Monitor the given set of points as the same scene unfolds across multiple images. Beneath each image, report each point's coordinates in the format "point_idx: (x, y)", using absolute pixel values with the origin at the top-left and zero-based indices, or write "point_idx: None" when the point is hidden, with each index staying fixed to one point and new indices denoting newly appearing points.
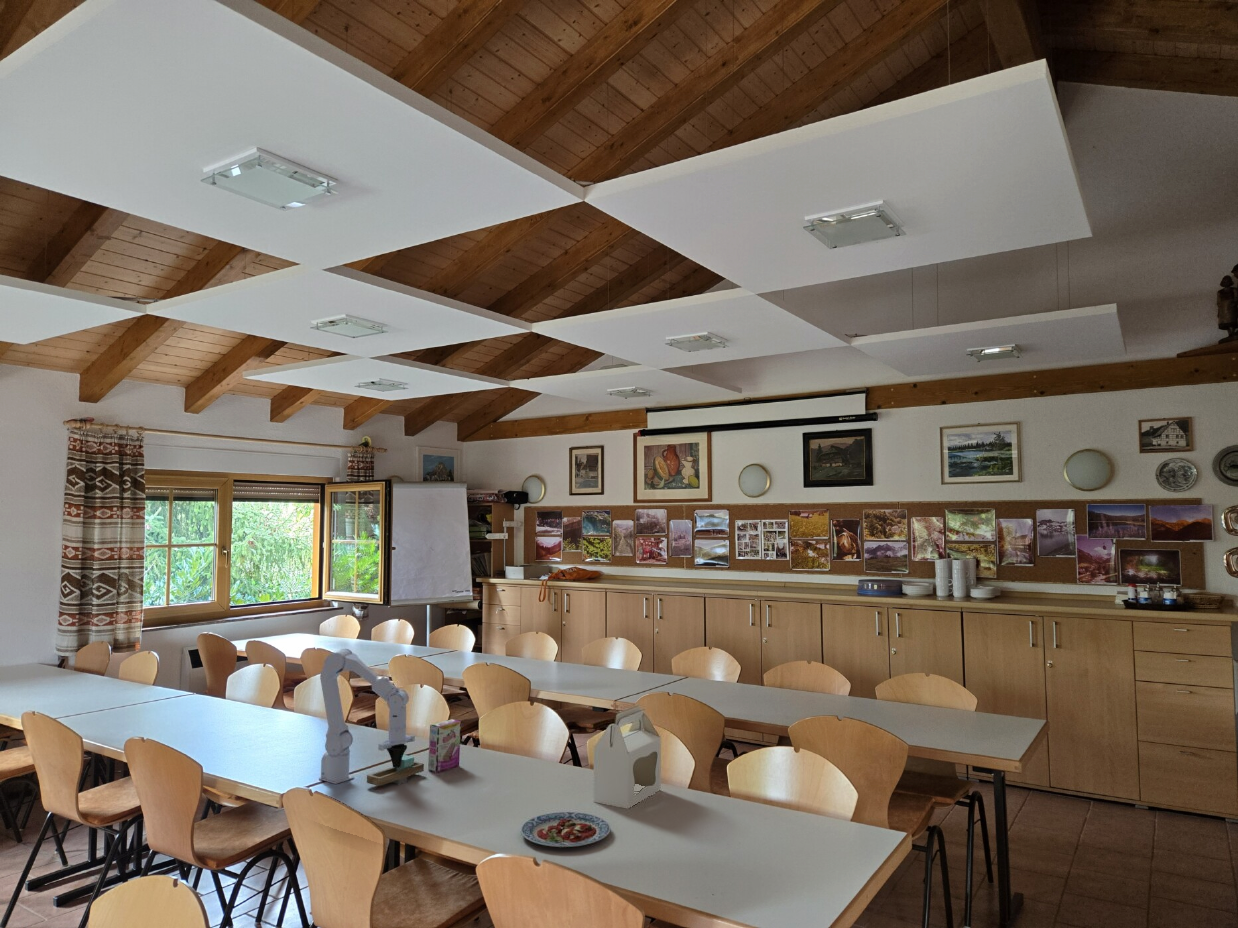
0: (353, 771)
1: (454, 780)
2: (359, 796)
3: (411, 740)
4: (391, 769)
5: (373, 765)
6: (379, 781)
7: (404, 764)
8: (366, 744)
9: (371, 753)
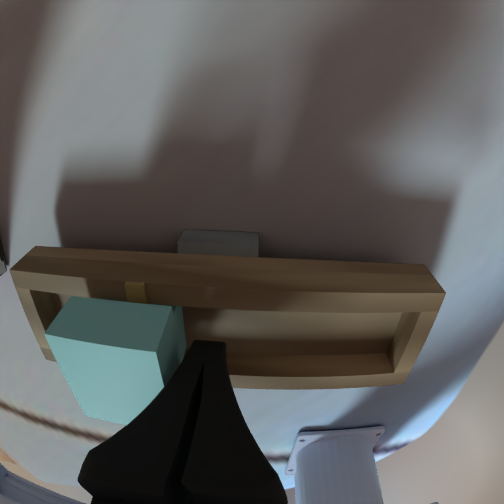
0: None
1: (10, 18)
2: (498, 264)
3: (2, 476)
4: None
5: None
6: (431, 280)
7: (166, 321)
8: None
9: None
